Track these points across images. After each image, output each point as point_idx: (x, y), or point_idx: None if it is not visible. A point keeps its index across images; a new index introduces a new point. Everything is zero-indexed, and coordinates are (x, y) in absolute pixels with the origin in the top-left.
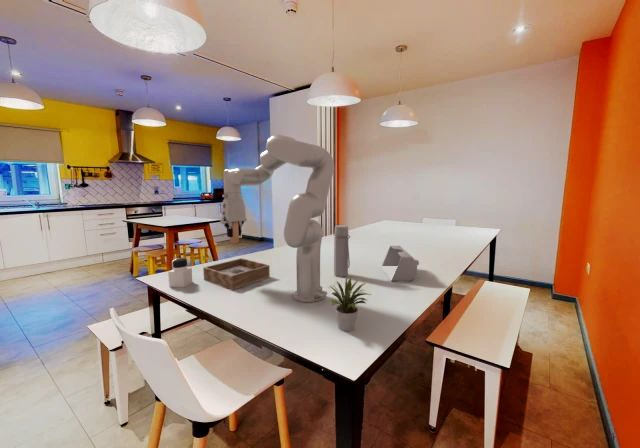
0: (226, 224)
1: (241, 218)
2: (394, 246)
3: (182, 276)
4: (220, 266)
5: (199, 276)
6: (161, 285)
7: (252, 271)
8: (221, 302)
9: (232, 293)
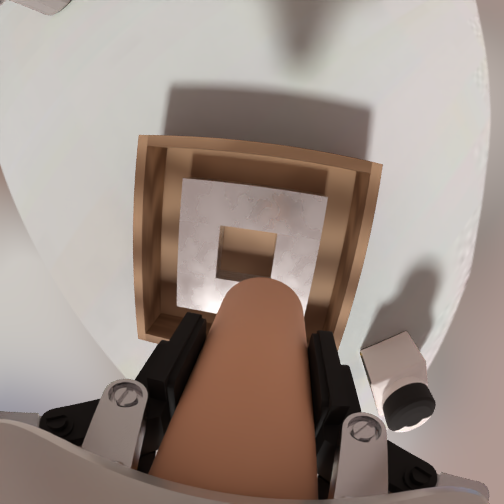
0: (429, 472)
1: (63, 497)
2: None
3: (420, 353)
4: None
5: None
6: None
7: (250, 141)
8: (447, 119)
9: (385, 136)
